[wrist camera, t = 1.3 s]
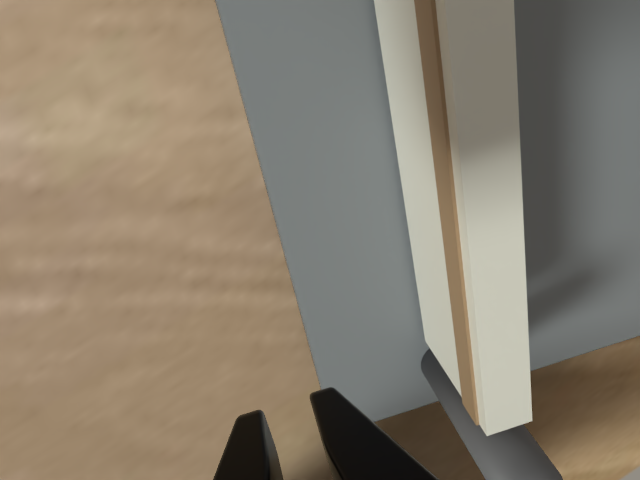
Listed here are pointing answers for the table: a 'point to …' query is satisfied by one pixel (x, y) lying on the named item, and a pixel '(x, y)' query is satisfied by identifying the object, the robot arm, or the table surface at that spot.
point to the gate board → (389, 208)
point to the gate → (463, 192)
